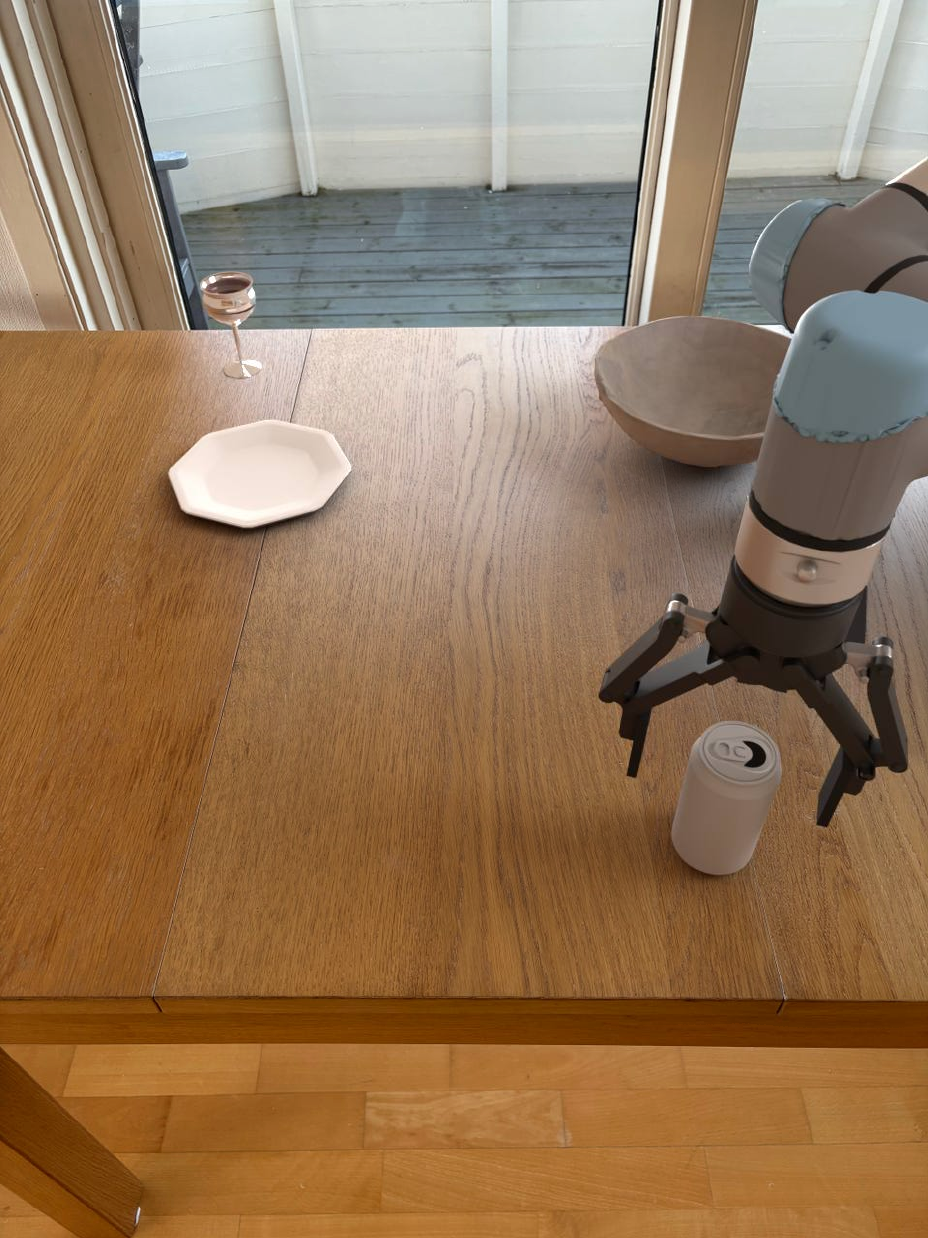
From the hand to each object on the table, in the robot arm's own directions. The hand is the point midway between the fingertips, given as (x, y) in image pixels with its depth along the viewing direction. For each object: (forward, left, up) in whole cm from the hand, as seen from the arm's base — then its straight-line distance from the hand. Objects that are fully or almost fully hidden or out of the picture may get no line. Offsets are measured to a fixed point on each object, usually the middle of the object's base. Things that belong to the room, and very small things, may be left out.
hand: (726, 787), depth 69 cm
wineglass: (+70, -55, -8) cm, 89 cm away
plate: (+56, -33, -8) cm, 65 cm away
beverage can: (0, 0, -8) cm, 8 cm away
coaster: (-6, -30, -8) cm, 32 cm away
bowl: (+9, -56, -8) cm, 57 cm away
